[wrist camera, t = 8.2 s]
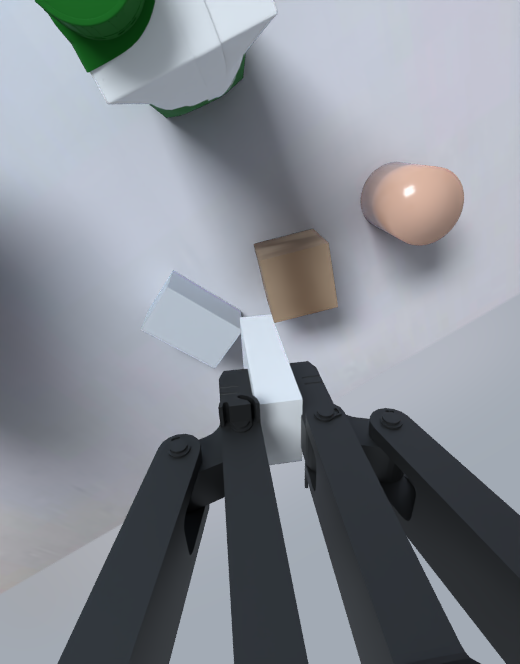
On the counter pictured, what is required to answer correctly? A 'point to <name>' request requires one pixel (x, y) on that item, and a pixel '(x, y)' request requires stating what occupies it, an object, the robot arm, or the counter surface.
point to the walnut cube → (297, 274)
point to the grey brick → (193, 320)
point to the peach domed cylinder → (413, 201)
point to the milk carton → (162, 47)
